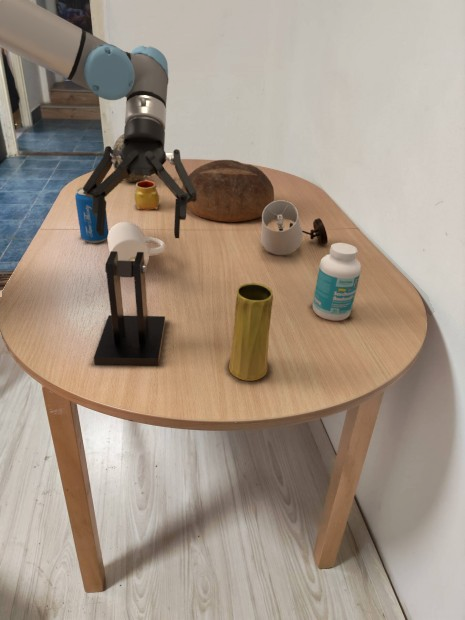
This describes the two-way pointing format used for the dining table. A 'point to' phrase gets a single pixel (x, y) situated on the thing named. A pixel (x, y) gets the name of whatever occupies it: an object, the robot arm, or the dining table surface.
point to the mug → (131, 242)
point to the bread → (230, 191)
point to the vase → (251, 331)
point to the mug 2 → (146, 195)
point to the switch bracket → (129, 322)
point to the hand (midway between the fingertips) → (138, 234)
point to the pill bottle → (337, 282)
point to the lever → (126, 267)
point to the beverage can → (88, 219)
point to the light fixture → (289, 238)
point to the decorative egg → (119, 146)
